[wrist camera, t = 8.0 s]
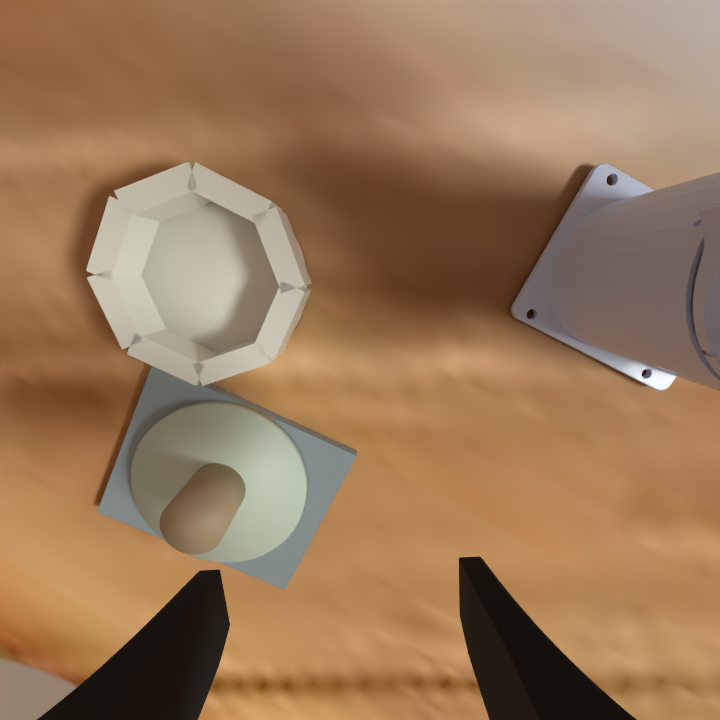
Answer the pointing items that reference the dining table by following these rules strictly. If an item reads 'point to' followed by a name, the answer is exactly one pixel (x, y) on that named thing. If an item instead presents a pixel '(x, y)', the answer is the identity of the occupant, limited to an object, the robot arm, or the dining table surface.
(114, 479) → the mat
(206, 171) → the octagonal storage bin
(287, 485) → the cover
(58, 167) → the dining table surface
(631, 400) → the dining table surface
